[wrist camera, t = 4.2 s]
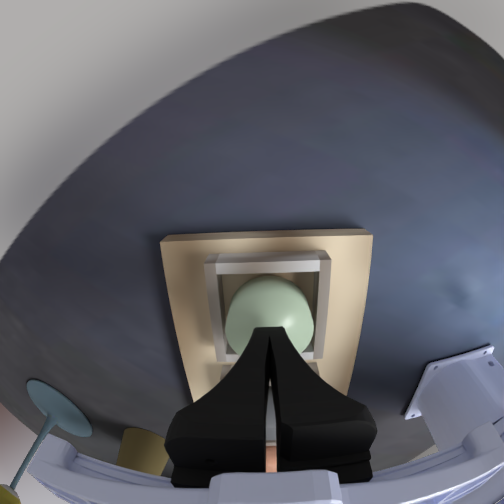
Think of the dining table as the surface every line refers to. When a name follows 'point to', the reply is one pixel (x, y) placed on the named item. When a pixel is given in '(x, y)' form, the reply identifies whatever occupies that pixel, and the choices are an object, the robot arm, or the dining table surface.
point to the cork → (142, 451)
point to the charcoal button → (270, 418)
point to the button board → (267, 264)
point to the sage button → (269, 312)
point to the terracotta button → (271, 459)
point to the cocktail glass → (48, 426)
